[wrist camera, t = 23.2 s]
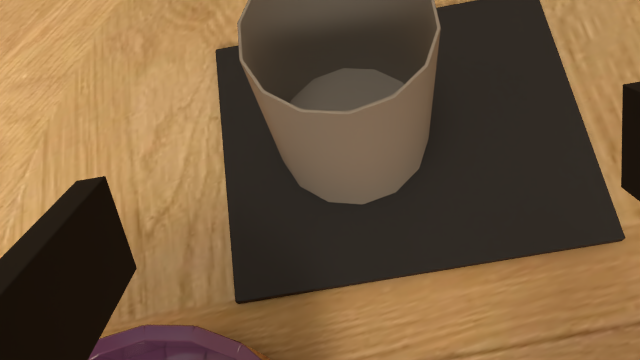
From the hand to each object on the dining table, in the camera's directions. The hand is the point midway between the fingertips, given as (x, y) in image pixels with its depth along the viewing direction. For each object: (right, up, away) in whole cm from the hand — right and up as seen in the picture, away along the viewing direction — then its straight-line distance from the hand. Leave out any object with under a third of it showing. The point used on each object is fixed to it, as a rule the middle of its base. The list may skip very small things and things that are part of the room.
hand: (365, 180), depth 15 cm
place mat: (+3, +2, +19) cm, 19 cm away
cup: (+1, +2, +19) cm, 19 cm away
